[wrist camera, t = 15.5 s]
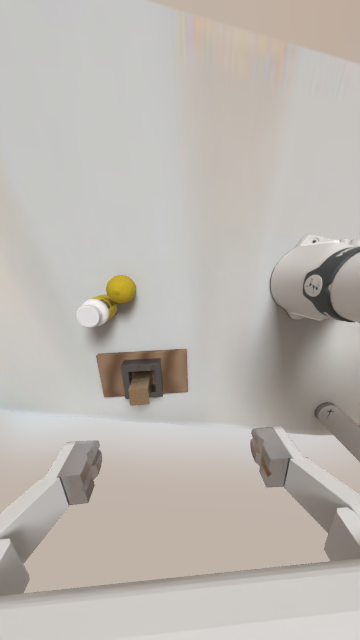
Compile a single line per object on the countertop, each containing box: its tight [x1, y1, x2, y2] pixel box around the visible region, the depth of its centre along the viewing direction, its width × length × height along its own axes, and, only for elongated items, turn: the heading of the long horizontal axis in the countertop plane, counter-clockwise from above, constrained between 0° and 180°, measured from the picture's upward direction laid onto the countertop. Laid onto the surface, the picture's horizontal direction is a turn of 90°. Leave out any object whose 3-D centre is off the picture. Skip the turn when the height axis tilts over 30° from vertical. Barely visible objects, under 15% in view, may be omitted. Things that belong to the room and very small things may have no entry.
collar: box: [121, 358, 163, 399], centre depth 43 cm, size 9×9×3 cm
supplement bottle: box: [76, 295, 118, 327], centre depth 35 cm, size 5×5×10 cm
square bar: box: [128, 371, 153, 405], centre depth 41 cm, size 4×4×8 cm
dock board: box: [96, 349, 188, 397], centre depth 45 cm, size 22×12×1 cm, turn 92°
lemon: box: [106, 275, 136, 303], centre depth 35 cm, size 6×6×8 cm
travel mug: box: [315, 403, 360, 461], centre depth 43 cm, size 6×7×20 cm
